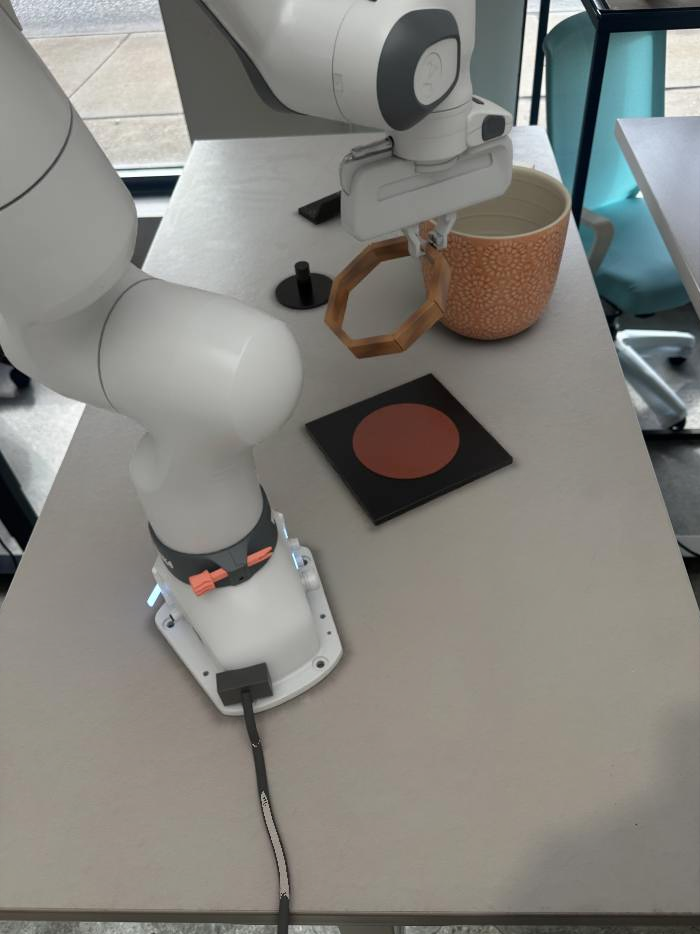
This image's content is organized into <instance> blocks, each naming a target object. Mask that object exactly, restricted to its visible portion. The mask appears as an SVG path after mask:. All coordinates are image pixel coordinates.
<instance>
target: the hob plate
mask: <svg viewBox="0 0 700 934" xmlns="http://www.w3.org/2000/svg"><path fill="white" fill-rule="evenodd" d="M304 426H305V430H306V431H307V432H308V434H309V436H310V437H311V438H312V440H313V441H314V442H315V443H316V445H317V446H318V448H319V449H320V450H321V452H322V453H323V455H324V456H325V458H326V459H327V460H328V461H329V463H330V464H331V466H332V467H333V468H334V470H335V472H336V473H337V474H338V476H339V478H341V479H342V481H343V482H344V484H345V485H346V487H347V488H348V489H349V491H350V492H351V493H352V495H353V497H354V498H355V499H356V501H357V502H358V503H359V505H360V506H361V507H362V509H363V510H364V511H365V513H366V514H367V515H368V518H370V520H371V521H372V523H373V524H374V526H379V525H381V524H383V523H387V522H388V521H390V520H392V519H394V518H396V517H399V516H400V515H403V514H405V513H408V512H410V511H411V510H414V509H417V508H418V507H420V506H423V505H425V504H427V503H429V502H431V501H433V500H436V499H437V498H439V497H442V496H444V495H446V494H448V493H450V492H453V491H455V490H457V489H459V488H462V487H464V486H465V485H467V484H471V483H472V482H474V481H476V480H480V479H482V478H483V477H485V476H487V475H489V474H492V473H494V472H496V471H498V470H500V469H502V468H504V467H507V466H508V465H511V464H513V462H514V457H513V456H512V455H511V454H510V453H509V452H508V451H507V450H506V449H505V448H504V447H503V446H502V445H501V444H500V443H499V441H498V440H496V438H495V437H494V436H493V435H492V434H491V433H490V432H489V431H488V430H487V429H486V428H485V427H484V425H482V424H481V423H480V422H479V420H477V419H476V418H475V417H474V416H473V414H471V413H470V411H469V410H468V409H467V408H466V407H464V405H463V404H462V403H461V402H460V401H459V400H458V399H457V398H456V397H455V396H454V395H453V394H452V393H451V392H450V390H448V388H446V387H445V386H444V385H443V383H442V382H440V380H438V378H436V376H435V374H433V373H432V372H430V373H428V374H424V375H422V376H420V377H418V378H415V379H412V380H410V381H408V382H405V383H402V384H400V385H398V386H396V387H393V388H390V389H388V390H385V391H383V392H380V393H378V394H376V395H373V396H371V397H368V398H366V399H363V400H360V401H358V402H355V403H353V404H351V405H348V406H346V407H343V408H341V409H338V410H335V411H334V412H330V413H328V414H326V415H323V416H321V417H319V418H316V419H313V420H311V421H309V422H305V425H304Z"/></svg>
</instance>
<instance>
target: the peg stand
mask: <svg viewBox="0 0 700 934" xmlns="http://www.w3.org/2000/svg"><path fill="white" fill-rule="evenodd" d="M293 267H294V273H295V274H294V275H289V276H288V277H286V278H284V279H283V280H282V281H280V282H279V283H278V284H277V286H276V288H275V292H274V293H275V299H276V301H277V302H278V303H279V304H280V305H282V306H284V307H286V308H288V309H291V310H292V309H293V310H311V309H315V308H320V307H321V306H323V305H325V304H328V301H329V296H330V292H331V288H332V283H333V280H334V279H331V277H329V276H327V275H325V274H322V273H317V272H311V268H310V263H309V262H308V261H306V260H300V261H297V262H295V263H294V266H293Z"/></svg>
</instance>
